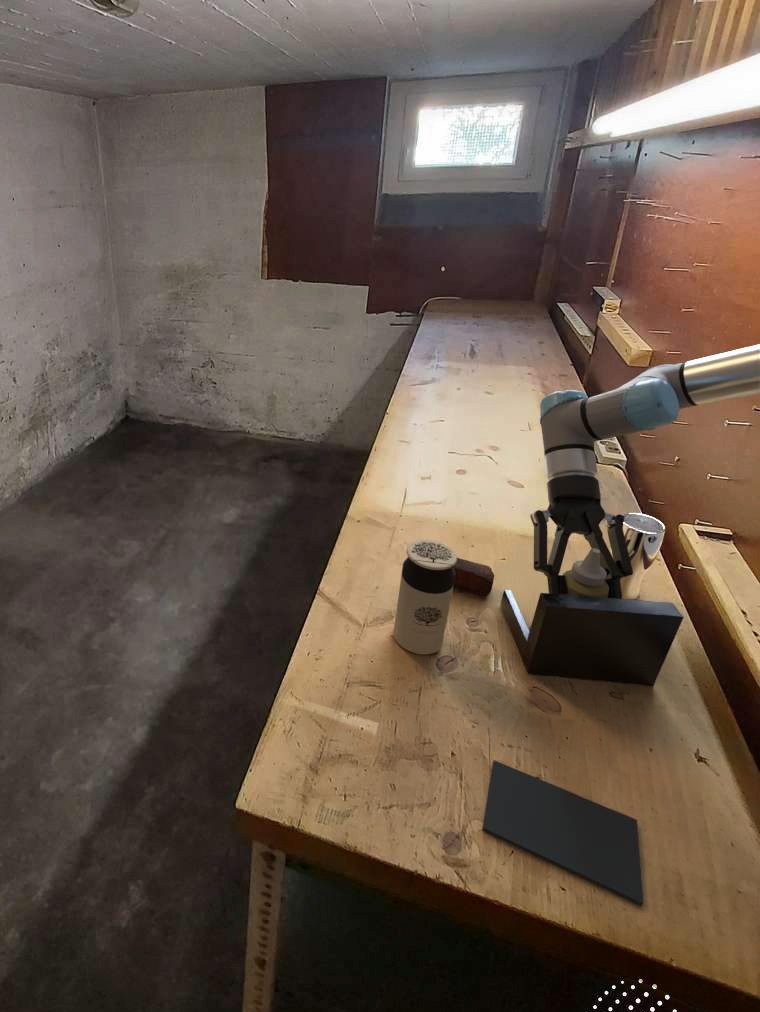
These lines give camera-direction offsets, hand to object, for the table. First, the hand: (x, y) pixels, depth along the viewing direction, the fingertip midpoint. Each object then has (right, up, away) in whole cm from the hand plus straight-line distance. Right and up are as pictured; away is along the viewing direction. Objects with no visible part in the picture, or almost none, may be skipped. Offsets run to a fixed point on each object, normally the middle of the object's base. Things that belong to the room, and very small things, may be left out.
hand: (587, 619), depth 88 cm
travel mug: (-24, -6, +8) cm, 26 cm away
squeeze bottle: (+1, -5, +6) cm, 8 cm away
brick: (-12, +1, +20) cm, 23 cm away
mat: (-17, -19, -20) cm, 33 cm away
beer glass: (+17, 0, +17) cm, 24 cm away
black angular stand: (+1, -6, +5) cm, 8 cm away
